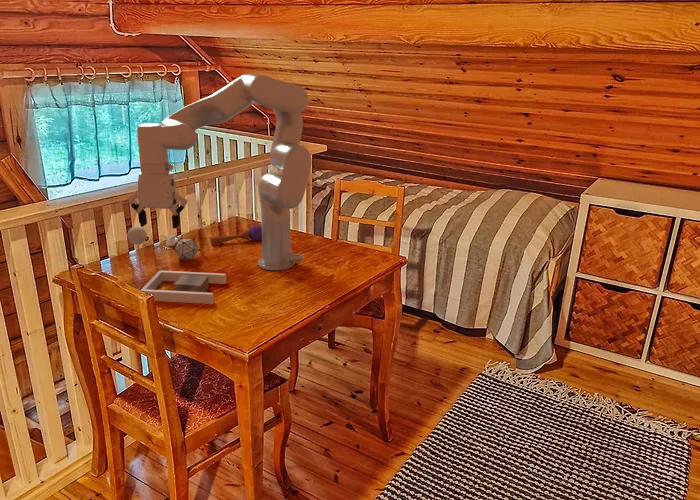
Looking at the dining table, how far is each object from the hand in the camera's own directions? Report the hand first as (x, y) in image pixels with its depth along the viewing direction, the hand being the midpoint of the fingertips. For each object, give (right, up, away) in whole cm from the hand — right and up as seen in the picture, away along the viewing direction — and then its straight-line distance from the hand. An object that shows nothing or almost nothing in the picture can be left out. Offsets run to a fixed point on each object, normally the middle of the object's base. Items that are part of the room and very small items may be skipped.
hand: (159, 226), depth 166 cm
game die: (-1, -10, +30) cm, 32 cm away
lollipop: (-13, -14, +21) cm, 28 cm away
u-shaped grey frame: (+6, -19, +7) cm, 21 cm away
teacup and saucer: (-8, -5, +45) cm, 46 cm away
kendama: (+13, -4, +49) cm, 51 cm away
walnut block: (+8, -20, +7) cm, 22 cm away
